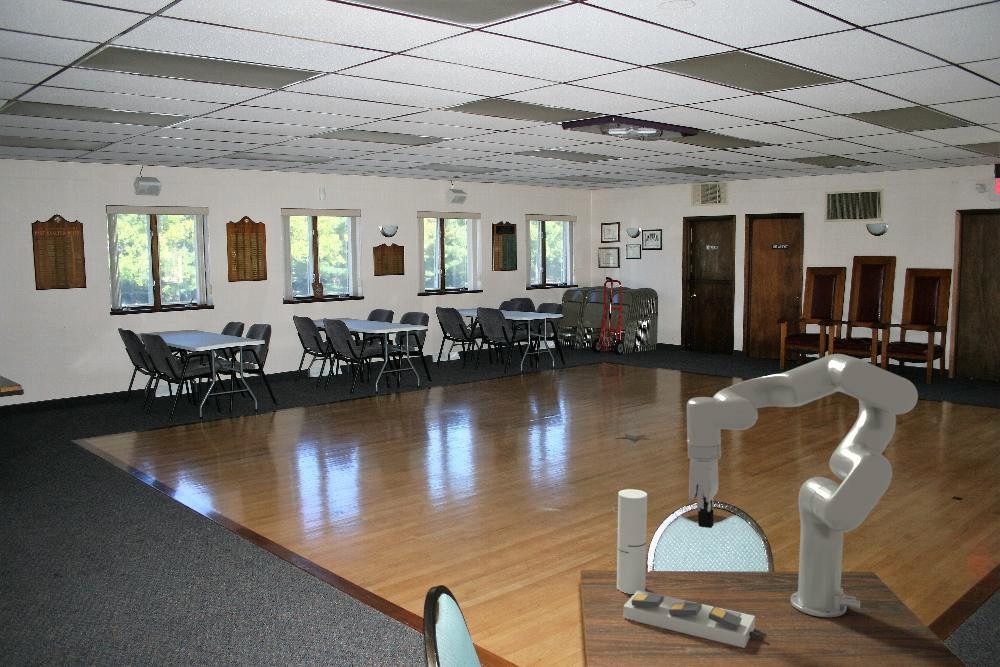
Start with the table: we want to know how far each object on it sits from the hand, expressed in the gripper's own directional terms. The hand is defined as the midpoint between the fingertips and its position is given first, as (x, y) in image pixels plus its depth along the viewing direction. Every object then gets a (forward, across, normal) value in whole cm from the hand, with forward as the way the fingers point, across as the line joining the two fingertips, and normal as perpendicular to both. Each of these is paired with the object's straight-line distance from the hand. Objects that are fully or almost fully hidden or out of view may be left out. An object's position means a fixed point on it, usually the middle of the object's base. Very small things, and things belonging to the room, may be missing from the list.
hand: (706, 526), depth 189 cm
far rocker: (+16, +10, -12) cm, 22 cm away
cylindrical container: (+21, -3, -20) cm, 29 cm away
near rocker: (+17, +11, +6) cm, 21 cm away
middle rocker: (+16, +10, -3) cm, 20 cm away
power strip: (+21, +8, -1) cm, 23 cm away
